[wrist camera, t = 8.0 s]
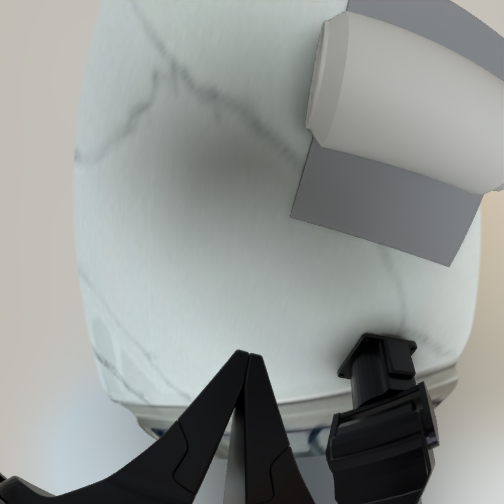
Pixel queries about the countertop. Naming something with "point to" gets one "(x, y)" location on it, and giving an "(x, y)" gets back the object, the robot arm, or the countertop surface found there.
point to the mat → (391, 177)
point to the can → (407, 103)
